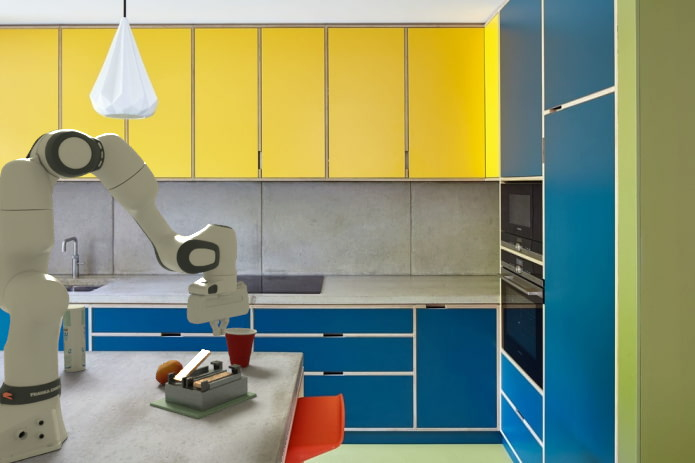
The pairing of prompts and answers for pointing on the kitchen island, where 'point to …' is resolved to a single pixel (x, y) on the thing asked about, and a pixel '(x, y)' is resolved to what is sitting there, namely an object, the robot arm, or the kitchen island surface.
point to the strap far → (192, 365)
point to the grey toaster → (206, 388)
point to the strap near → (212, 378)
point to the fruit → (168, 370)
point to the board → (195, 413)
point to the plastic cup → (240, 345)
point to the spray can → (74, 338)
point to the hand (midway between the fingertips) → (219, 335)
